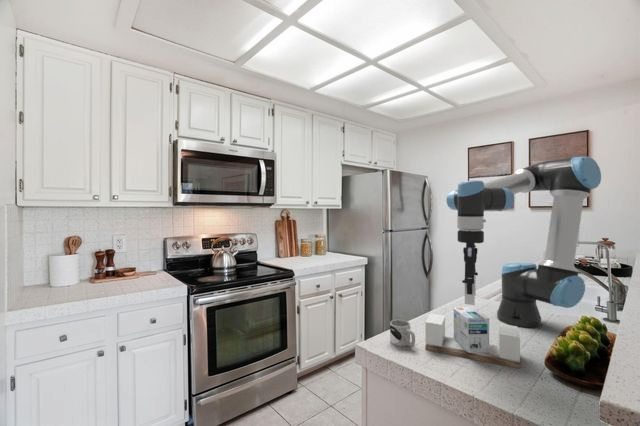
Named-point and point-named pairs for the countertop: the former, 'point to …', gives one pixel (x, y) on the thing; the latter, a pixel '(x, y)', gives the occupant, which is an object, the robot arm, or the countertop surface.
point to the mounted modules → (507, 336)
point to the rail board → (456, 349)
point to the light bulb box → (471, 330)
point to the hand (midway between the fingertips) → (470, 299)
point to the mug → (401, 333)
